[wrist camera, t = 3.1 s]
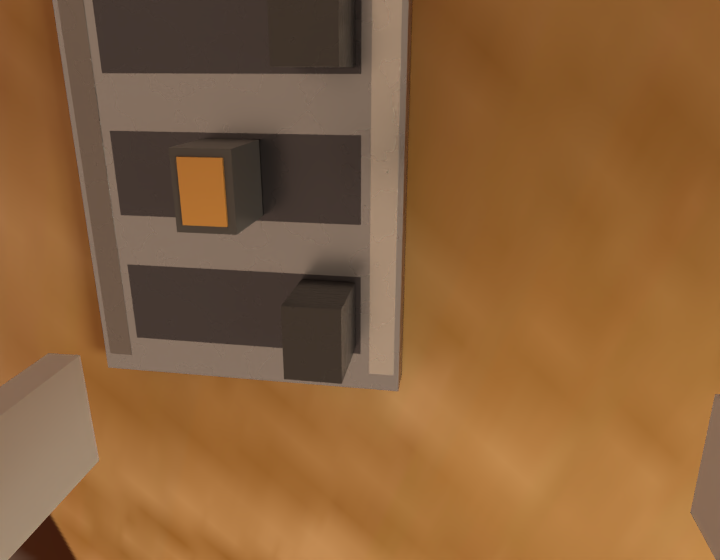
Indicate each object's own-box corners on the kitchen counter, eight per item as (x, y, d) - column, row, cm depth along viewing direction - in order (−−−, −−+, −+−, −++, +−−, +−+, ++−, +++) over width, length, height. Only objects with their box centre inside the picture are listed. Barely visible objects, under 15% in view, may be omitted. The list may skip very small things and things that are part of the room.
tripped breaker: (203, 138, 31) (166, 148, 27) (258, 139, 31) (229, 149, 27) (209, 213, 32) (175, 232, 28) (262, 215, 32) (235, 235, 28)
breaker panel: (66, -67, 31) (-24, -98, 25) (414, -79, 28) (402, -117, 22) (125, 353, 39) (67, 401, 33) (401, 374, 36) (390, 431, 30)
